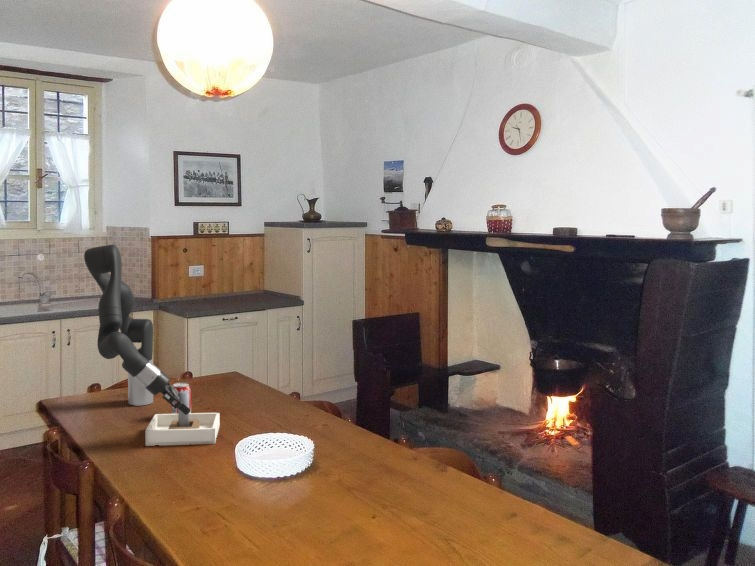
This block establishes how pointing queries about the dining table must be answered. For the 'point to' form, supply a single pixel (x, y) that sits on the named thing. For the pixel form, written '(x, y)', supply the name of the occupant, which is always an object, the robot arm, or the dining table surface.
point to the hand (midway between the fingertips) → (188, 409)
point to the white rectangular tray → (183, 429)
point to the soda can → (180, 388)
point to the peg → (182, 418)
